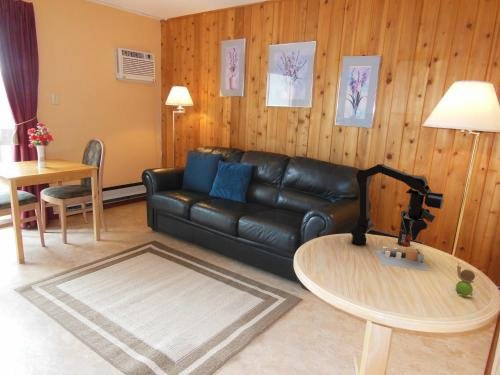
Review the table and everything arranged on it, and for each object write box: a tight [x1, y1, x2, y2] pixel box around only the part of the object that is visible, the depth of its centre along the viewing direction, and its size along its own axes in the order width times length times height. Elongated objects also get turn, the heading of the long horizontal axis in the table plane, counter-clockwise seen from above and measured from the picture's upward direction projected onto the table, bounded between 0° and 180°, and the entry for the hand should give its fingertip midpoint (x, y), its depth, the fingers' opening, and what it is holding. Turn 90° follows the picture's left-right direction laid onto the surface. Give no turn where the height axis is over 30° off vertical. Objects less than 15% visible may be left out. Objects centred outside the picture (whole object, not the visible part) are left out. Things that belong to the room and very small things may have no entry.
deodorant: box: [397, 218, 412, 248], centre depth 175 cm, size 6×6×15 cm
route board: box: [374, 249, 431, 272], centre depth 157 cm, size 20×18×1 cm
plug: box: [389, 247, 418, 260], centre depth 159 cm, size 14×4×4 cm, turn 81°
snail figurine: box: [455, 262, 476, 296], centre depth 129 cm, size 5×6×12 cm
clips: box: [381, 246, 403, 260], centre depth 160 cm, size 7×6×3 cm
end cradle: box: [412, 247, 425, 263], centre depth 158 cm, size 2×8×4 cm, turn 171°
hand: (410, 236), depth 157 cm, fingers open, 9 cm apart
